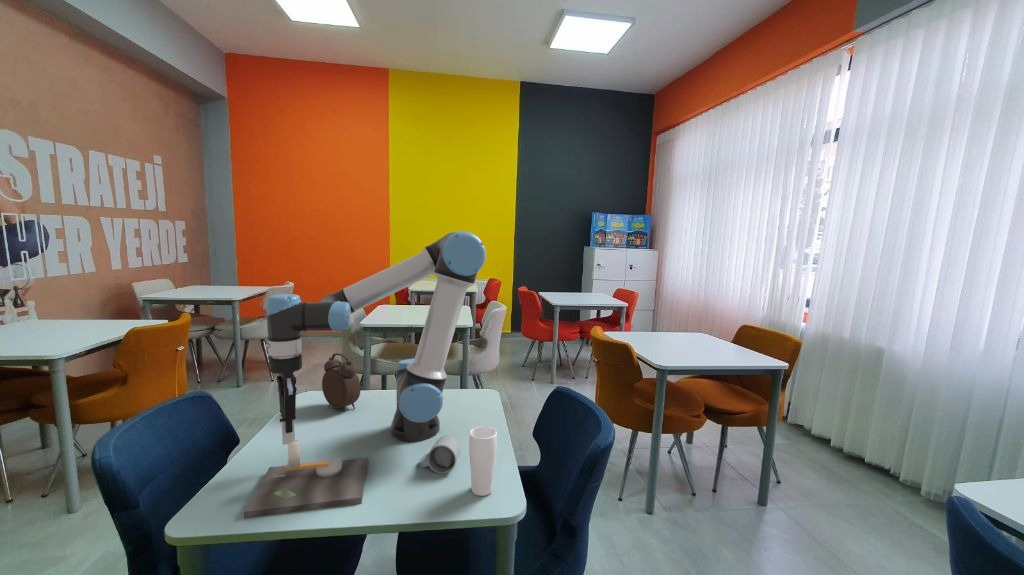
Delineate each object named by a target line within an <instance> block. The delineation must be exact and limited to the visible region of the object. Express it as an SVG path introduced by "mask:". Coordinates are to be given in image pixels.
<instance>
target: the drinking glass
mask: <svg viewBox="0 0 1024 575" xmlns="http://www.w3.org/2000/svg"><path fill="white" fill-rule="evenodd" d="M497 450H498V431H497V430H496V429H495V428H494V427H491V426H476V427H473V428H471V429H470V431H469V436H468V451H469V452H468V453H469V454H468V455H469V465H470V480H471V481H470V482H471V486H470V487H471V492H472V493H473V494H474V495H476V496H479V497H486V496H488V495H490V494H492V492H493V490H494V478H495V471H496V470H495V469H496V460H497V452H498V451H497Z"/></svg>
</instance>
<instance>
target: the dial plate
mask: <svg viewBox="0 0 1024 575" xmlns="http://www.w3.org/2000/svg"><path fill="white" fill-rule="evenodd" d="M339 460H340V461H341V462H342V470H341V472H340V473H338V474H337V475H334V476H331V477H319V476H317V474H316V468H311V469H301V470H292V471H285V467H286V465H280V466H279V465H278V466H270V467H269V468H268V469H267V471H266V473H265V475H264V476H263V478H262V480H261V481H260V483H259V485H258V487H257V488H256V490H255V492H254V494H253V495H252V497H251V499H250V500H249V502H248V504H247V505H246V507H245V509H244V511H243V519H248V518H257V517H265V516H272V515H280V514H282V515H283V514H289V513H290V514H291V513H297V512H304V511H313V510H320V508H321V509H328V508H335V507H344V506H350V505H351V506H352V505H359V504H362V503H363V497H364V491H365V485H366V481H367V480H366V479H367V471H368V466H369V457H368V456H367V457H359V458H348V459H339Z"/></svg>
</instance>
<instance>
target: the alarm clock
mask: <svg viewBox="0 0 1024 575" xmlns="http://www.w3.org/2000/svg"><path fill="white" fill-rule="evenodd" d="M336 356H340V357H343V358H344V359H345V362H342V361H340V360H339V359H336V358H335V357H336ZM323 368H324V374H323V376H322V378H321V379H322V380H321V388H322V392H323V397H324V399H325V400H326V402H327V404H328V407H332V408H334V409H342V412H346V410H345V408H346V407H348V406H349V407H350V406H352V407H353V410H355V409H356V407H355V403H356V402H357V401H358V400H359V398H360V395H361V388H362V387H361V381H360V378H359V376H358V374H357V372H358V369H357V368H358V367H357V365H356V363H354V362H353V361H350V358H349V356H347V355H346V354H344V353H340V352H335V353H333V354H332V356H329V357H328V360H327V361H326V362H325V363H324V366H323Z"/></svg>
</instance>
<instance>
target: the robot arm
mask: <svg viewBox="0 0 1024 575" xmlns="http://www.w3.org/2000/svg"><path fill="white" fill-rule="evenodd" d="M486 257H487V253H486V248H485V245H484V243H483V241H482V240H481V239H480V237H478V236H477V235H475V234H473V233H471V232H470V231H464V230H459V231H453V232H449V233H447V234H445V235H443V236H442V237H440V238H439V239H438V240H436V241H434V242H433V243H431V244H429V245H427V246H424V247H423V248H422V251H421V252H419V253H417V254H415V255H413V256H411V257H409V258H406V259H404V260H402V261H399V262H398V263H395V264H394V265H392V266H391V265H390V266H389V267H388V268H385V269H382V270H381V271H379V272H377V273H375V274H372V275H370V276H368V277H366V278H363V279H361V280H358V281H357V282H355V283H352V284H351V285H347V286H346V287H343V288H342V289H340V290H338V291H336V292H334V293H328V294H326V295H325V296H323V297H322V298H321V299H320V301H317V302H316V301H313V302H311V301H310V302H308V301H307V302H305V301H302V300H301V297H300V295H298V294H293V293H291V294H290V293H280V294H272V295H270V296H269V297H268V298H267V300H266V313H265V316H266V327H267V341H268V343H266V344H265V348H266V349H268V355H269V357H268V371H269V372H270V373H272V374H278V375H277V376H276V383H277V391H278V398H279V400H278V401H279V413H280V417H281V418H279V422H280V423H281V439H282V440H281V441H282V442H281V443H282V445H283V446H285V445H288V443H289V442H290V441H294V440H296V438H295V437H296V436H295V435H296V433H295V432H296V431H295V420H297V419H296V418H297V415H296V410H297V409H296V404H297V398H296V395H297V387H296V384H297V377H296V376H295V374H294V372H298V371H300V370H301V369H302V367H303V354H301V353H303V342H302V339H303V337H302V332H326V331H327V332H330V331H332V332H333V331H334V332H338V331H343V330H345V331H346V330H349V329H350V328H351V322H352V320H351V319H352V318H351V317H352V314H354V313H356V312H358V311H359V310H361V309H363V308H365V307H368V306H370V305H372V304H375V303H376V302H378V301H380V300H382V299H384V298H387V297H388V296H391V295H393V294H395V293H397V292H399V291H401V290H404V289H406V288H407V287H410V286H412V285H414V284H416V283H418V282H420V281H423V280H424V279H427V278H429V277H430V276H435V277H436V281H437V282H436V283H435V284H436V285H435V286H434V287H435V288H434V291H433V295H432V298H431V301H430V306H429V308H428V311H427V316H426V319H425V322H424V326H423V329H422V333H421V336H420V339H419V343H418V346H417V350H416V353H415V357H414V358H408V359H403V360H399V361H398V362H397V363H396V368H395V372H396V373H395V374H396V380H395V381H396V408H395V409H396V410H395V412H394V415H393V418H392V420H391V425H390V433H391V436H392V437H393V438H395V439H397V440H400V441H403V442H404V441H405V442H418V441H424V440H427V439H430V438H433V437H434V436H436V435H437V434H438V433H439V431H440V428H441V427H440V426H441V425H440V424H441V423H440V419H439V416H438V415H439V413H440V412H441V410H442V408H443V403H444V395H443V391H444V388H445V385H446V381H447V378H448V375H447V373H446V371H445V366H446V362H447V357H448V354H449V351H450V347H451V344H452V342H453V338H454V335H455V331H456V327H457V325H458V320H459V318H460V313H461V311H462V307H463V304H464V300H465V296H466V294H467V290H468V288H471V287H472V286H474V285H475V282H476V279H477V275H478V273H479V271H480V270H481V269H482V267H483V266H484V265H485V262H486V259H487V258H486Z"/></svg>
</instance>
